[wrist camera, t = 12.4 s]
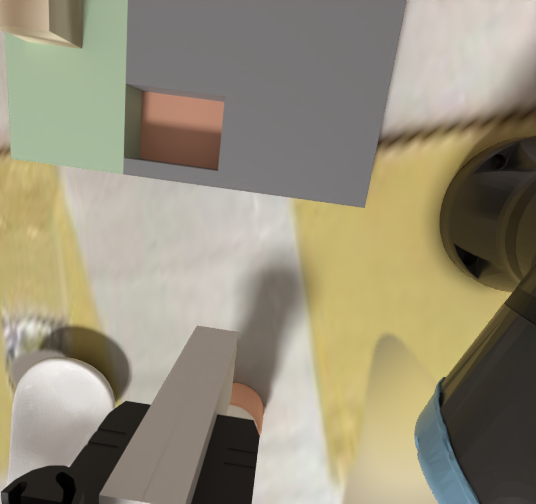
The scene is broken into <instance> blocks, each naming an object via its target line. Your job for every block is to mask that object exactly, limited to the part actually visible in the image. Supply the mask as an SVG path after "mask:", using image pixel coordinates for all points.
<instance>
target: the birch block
mask: <svg viewBox="0 0 536 504" xmlns="http://www.w3.org/2000/svg"><path fill="white" fill-rule="evenodd" d="M0 30H2V31H5V32H7V33H9V34H11V35H14V36H16V37H18V38H20V39H22V40H25V41H27V42H34V43H41V44H49V45H57V46H64V47H72V48H80V49H82V0H0Z"/></svg>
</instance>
